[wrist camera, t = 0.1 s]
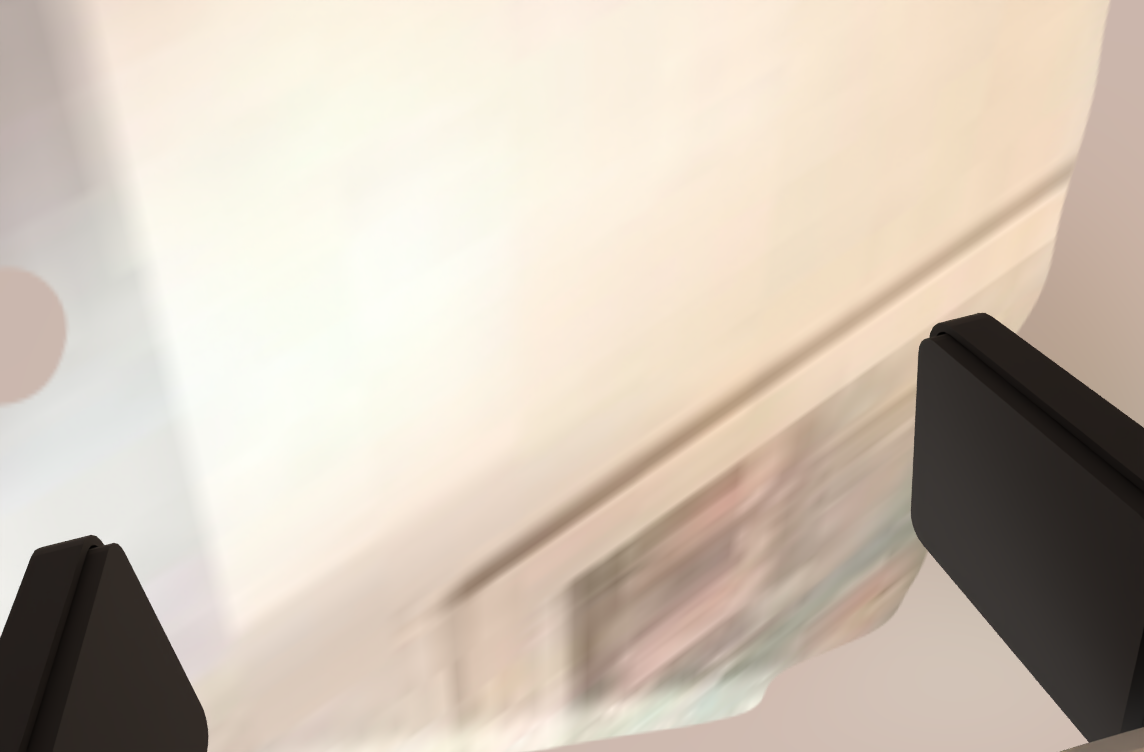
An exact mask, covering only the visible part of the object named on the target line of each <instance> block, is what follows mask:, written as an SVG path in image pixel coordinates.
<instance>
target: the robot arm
mask: <svg viewBox="0 0 1144 752" xmlns="http://www.w3.org/2000/svg"><path fill="white" fill-rule="evenodd" d="M911 519H912V524H913V527H914V530H915V532H916V535H917V537H918V539H919V540H920V541H921V543H922V544H923V545H924V547H925V548H926V549H927V550H928V551H929V553H930V554H931V555H932V556H933V557H934V558H935V560H936V561H937V562H938V563H939V565H940V566H941V567H942V568H943V569H944V570H945V572H946V573H947V574H948V575H949V576H950V578H951V579H952V580H953V581H954V582H955V584H956V585H957V586H958V587H959V588H960V589H961V590H962V592H963V593H964V594H965V595H966V596H967V598H968V599H969V600H970V601H971V603H972V604H973V605H974V606H975V607H976V608H977V610H978V611H979V612H980V613H981V614H982V616H983V617H984V618H985V619H986V620H987V622H988V623H989V624H990V625H991V626H992V627H993V629H994V630H995V631H996V632H997V633H998V635H999V636H1000V637H1001V638H1002V639H1003V641H1004V642H1005V643H1006V644H1007V645H1008V647H1009V648H1010V649H1011V650H1012V651H1013V653H1014V654H1015V655H1016V656H1017V657H1018V658H1019V660H1020V661H1021V662H1022V663H1023V664H1024V665H1025V667H1026V668H1027V669H1028V670H1029V672H1030V673H1031V674H1032V675H1033V676H1034V677H1035V679H1036V680H1037V681H1038V682H1039V684H1040V685H1041V686H1042V687H1043V688H1044V689H1045V691H1046V692H1047V693H1048V694H1049V695H1050V697H1051V698H1052V699H1053V700H1054V701H1055V703H1056V704H1057V705H1058V706H1059V707H1060V708H1061V710H1062V711H1063V712H1064V713H1065V714H1066V716H1067V717H1068V718H1069V719H1070V720H1071V722H1072V723H1073V724H1074V725H1075V726H1076V727H1077V729H1078V730H1079V731H1080V732H1081V733H1082V735H1083V736H1084V737H1085V738H1086V739H1087V741H1088V742H1089V743H1087V744H1083V745H1080V746H1077V747H1073V748H1070V749H1067V750H1063V751H1060V752H1144V428H1143V427H1142V426H1141V425H1139V424H1138V423H1136V422H1135V421H1134V420H1132V419H1131V418H1130V417H1128V416H1127V415H1125V414H1124V413H1123V412H1121V411H1120V410H1119V409H1117V408H1116V407H1115V406H1113V405H1112V404H1110V403H1109V402H1108V401H1106V400H1105V399H1103V398H1102V397H1101V396H1099V395H1098V394H1097V393H1096V392H1094V391H1093V390H1091V389H1090V388H1089V387H1087V386H1086V385H1085V384H1083V383H1082V382H1080V381H1079V380H1078V379H1076V378H1075V377H1074V376H1072V375H1071V374H1069V373H1068V372H1067V371H1065V370H1064V369H1063V368H1061V367H1060V366H1059V365H1057V364H1056V363H1055V362H1053V361H1052V360H1050V359H1049V358H1048V357H1046V356H1045V355H1044V354H1042V353H1041V352H1040V351H1038V350H1037V349H1036V348H1034V347H1033V346H1031V345H1030V344H1028V343H1027V342H1026V341H1024V340H1023V339H1022V338H1020V337H1019V336H1018V335H1016V334H1015V333H1014V332H1012V331H1011V330H1010V329H1008V328H1007V327H1006V326H1004V325H1003V324H1001V323H1000V322H999V321H997V320H996V319H995V318H993V317H992V316H990V315H988V314H986V313H977V314H973V315H969V316H965V317H961V318H957V319H953V320H949V321H945V322H941V323H938V324H936V325H935V326H934V327H933V329H932V331H931V333H930V338H927V339H924V340H923V341H922V342H921V344H920V346H919V352H918V373H917V394H916V415H915V436H914V457H913V479H912V500H911ZM207 748H208V727H207V721H206V717H205V713H204V710H203V708H202V706H201V704H200V702H199V700H198V698H197V696H196V694H195V692H194V690H193V688H192V686H191V684H190V682H189V680H188V678H187V676H186V674H185V672H184V670H183V668H182V666H181V664H180V662H179V660H178V658H177V656H176V654H175V652H174V650H173V648H172V646H171V644H170V642H169V640H168V638H167V636H166V634H165V632H164V630H163V628H162V626H161V624H160V622H159V620H158V618H157V616H156V614H155V612H154V610H153V608H152V606H151V604H150V602H149V600H148V598H147V596H146V594H145V592H144V590H143V588H142V586H141V584H140V582H139V580H138V578H137V576H136V574H135V572H134V570H133V568H132V566H131V564H130V562H129V560H128V558H127V556H126V554H125V552H124V551H123V549H122V548H121V547H120V546H119V545H118V544H116V543H112V544H108V545H104V544H103V543H102V541H101V540H100V539H99V538H98V537H97V536H93V535H89V536H85V537H81V538H77V539H73V540H69V541H65V542H61V543H57V544H53V545H49V546H45V547H41V548H39V549H37V550H35V551H34V553H33V555H32V556H31V559H30V561H29V564H28V566H27V569H26V572H25V574H24V577H23V580H22V582H21V585H20V587H19V590H18V593H17V595H16V598H15V601H14V603H13V606H12V609H11V611H10V614H9V616H8V619H7V622H6V624H5V627H4V630H3V632H2V635H1V637H0V752H207Z"/></svg>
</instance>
